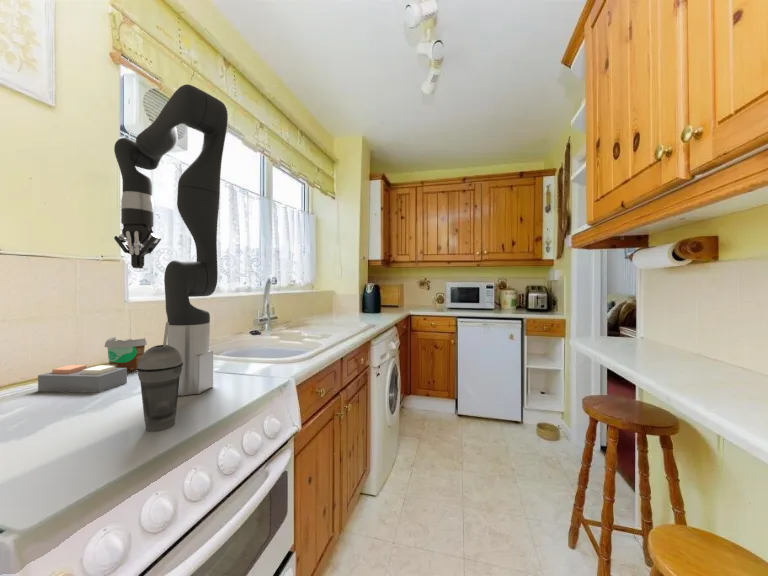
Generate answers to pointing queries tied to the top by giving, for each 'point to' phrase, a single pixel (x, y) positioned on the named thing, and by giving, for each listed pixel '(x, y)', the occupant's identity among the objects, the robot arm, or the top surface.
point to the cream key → (98, 370)
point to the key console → (81, 381)
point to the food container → (125, 352)
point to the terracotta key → (69, 369)
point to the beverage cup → (160, 384)
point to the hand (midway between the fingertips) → (137, 268)
